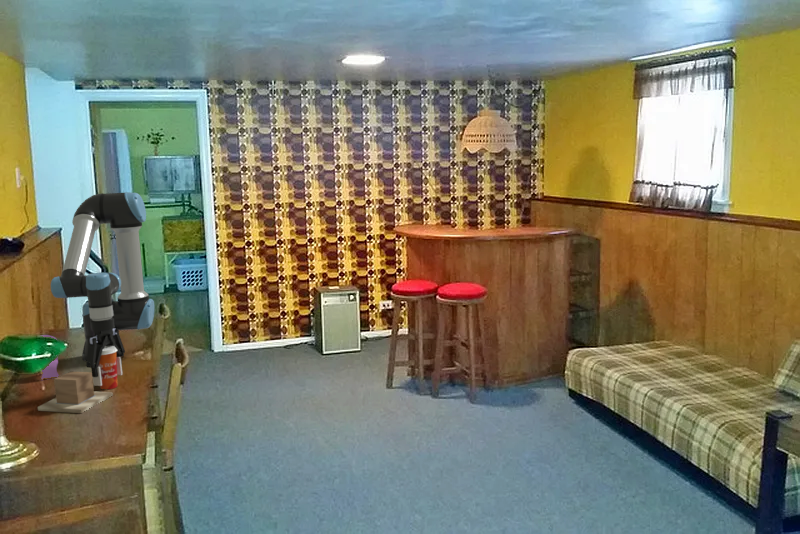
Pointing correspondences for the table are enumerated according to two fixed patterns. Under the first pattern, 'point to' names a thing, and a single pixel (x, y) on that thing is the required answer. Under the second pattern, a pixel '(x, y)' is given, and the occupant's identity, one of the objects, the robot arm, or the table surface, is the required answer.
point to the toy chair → (50, 366)
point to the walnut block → (74, 387)
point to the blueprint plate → (75, 408)
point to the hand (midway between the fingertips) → (108, 380)
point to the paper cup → (108, 367)
